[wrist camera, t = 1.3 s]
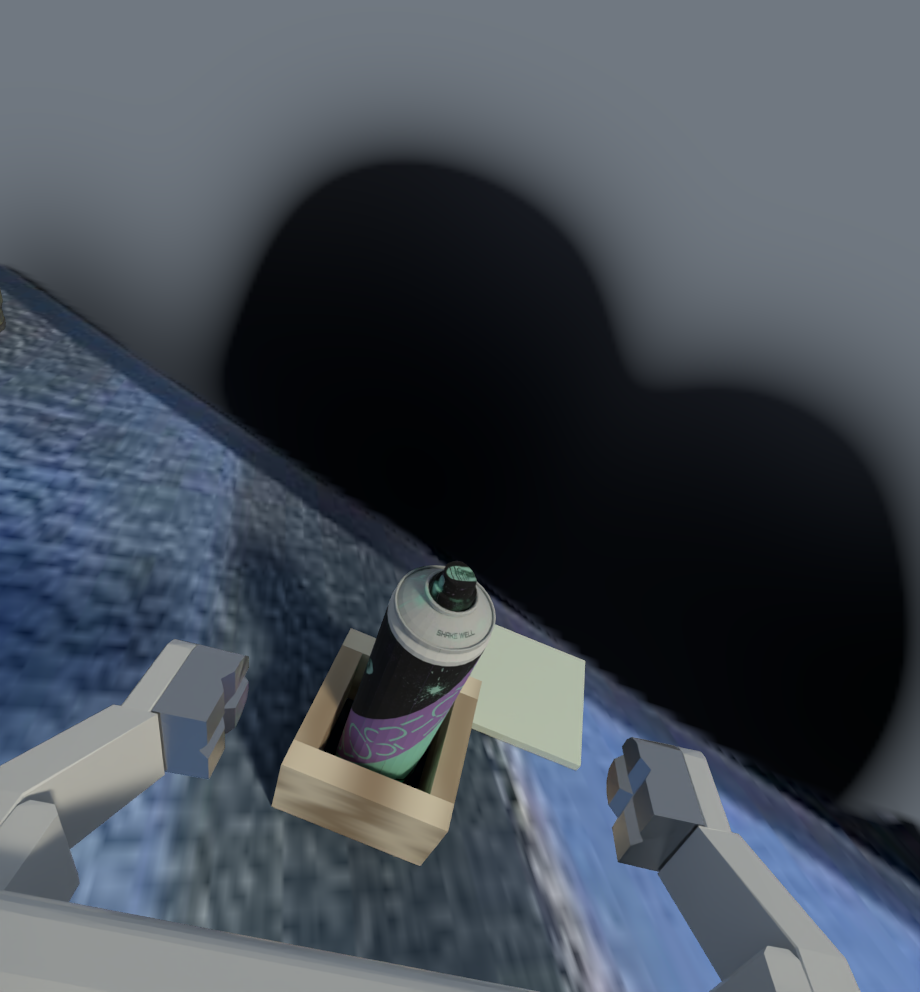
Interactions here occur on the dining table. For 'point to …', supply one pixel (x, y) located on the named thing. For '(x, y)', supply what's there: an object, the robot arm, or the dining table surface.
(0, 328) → the olive green cylinder
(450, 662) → the spray can
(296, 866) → the dining table surface
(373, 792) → the can holder
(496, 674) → the sage pad
